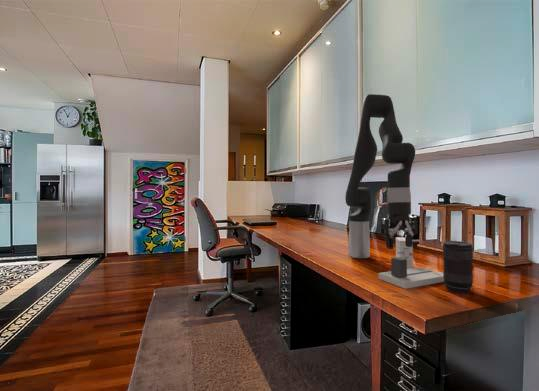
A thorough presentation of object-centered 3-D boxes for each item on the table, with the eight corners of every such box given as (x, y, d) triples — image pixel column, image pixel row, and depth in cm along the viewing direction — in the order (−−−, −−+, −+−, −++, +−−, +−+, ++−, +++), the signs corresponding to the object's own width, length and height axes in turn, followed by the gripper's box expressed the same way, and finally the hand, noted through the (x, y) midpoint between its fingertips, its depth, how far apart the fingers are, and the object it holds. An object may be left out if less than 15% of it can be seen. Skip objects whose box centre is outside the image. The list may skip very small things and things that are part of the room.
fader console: (378, 278, 105) (378, 272, 105) (421, 271, 113) (421, 266, 113) (405, 288, 94) (405, 282, 94) (450, 280, 102) (450, 274, 102)
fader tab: (391, 274, 102) (391, 257, 102) (397, 273, 103) (397, 256, 103) (400, 277, 98) (400, 260, 98) (406, 276, 100) (406, 259, 100)
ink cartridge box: (395, 264, 125) (395, 230, 125) (407, 264, 124) (407, 230, 124) (399, 269, 117) (399, 233, 116) (413, 270, 116) (413, 233, 115)
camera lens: (445, 283, 98) (444, 239, 98) (474, 288, 93) (474, 242, 93) (440, 290, 92) (440, 243, 92) (471, 296, 87) (471, 246, 87)
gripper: (405, 200, 107) (406, 244, 107) (374, 201, 101) (375, 247, 101) (423, 200, 100) (423, 247, 100) (391, 201, 94) (391, 251, 94)
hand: (399, 247), depth 101 cm, fingers open, 8 cm apart
